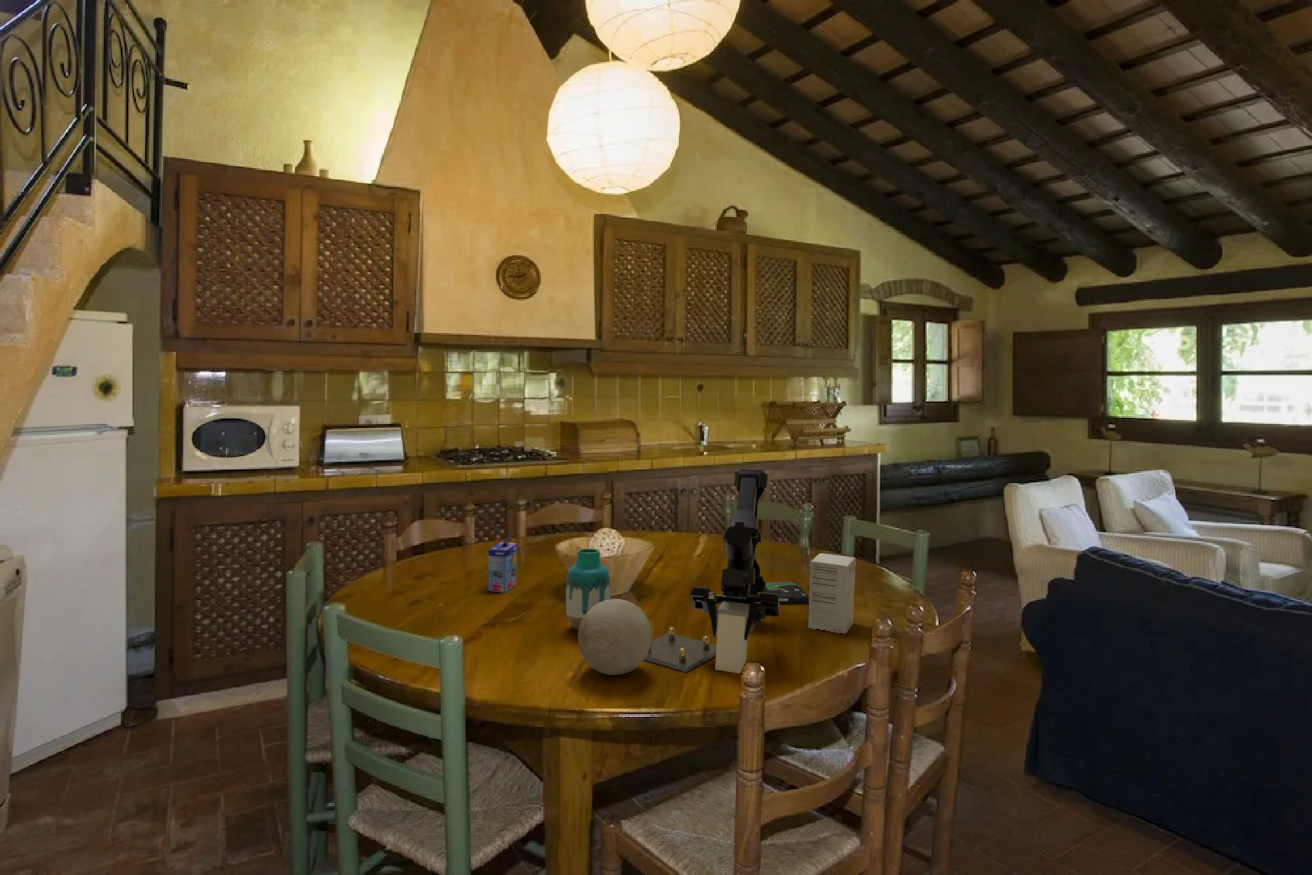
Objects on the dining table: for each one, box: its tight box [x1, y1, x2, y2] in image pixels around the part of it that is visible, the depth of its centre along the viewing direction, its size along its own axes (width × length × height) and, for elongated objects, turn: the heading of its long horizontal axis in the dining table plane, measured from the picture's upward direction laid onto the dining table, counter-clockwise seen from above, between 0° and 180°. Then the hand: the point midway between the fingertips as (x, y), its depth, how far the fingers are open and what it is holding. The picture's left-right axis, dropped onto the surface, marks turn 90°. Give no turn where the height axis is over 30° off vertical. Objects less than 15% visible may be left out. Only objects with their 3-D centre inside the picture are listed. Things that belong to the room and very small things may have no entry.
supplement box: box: [807, 553, 856, 634], centre depth 185 cm, size 10×9×17 cm
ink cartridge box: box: [487, 536, 518, 594], centre depth 214 cm, size 10×6×14 cm, turn 170°
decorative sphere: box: [577, 598, 652, 676], centre depth 154 cm, size 15×15×15 cm
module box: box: [714, 601, 749, 674], centre depth 158 cm, size 6×6×13 cm
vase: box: [565, 547, 611, 631], centre depth 180 cm, size 11×11×19 cm
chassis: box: [643, 626, 717, 673], centre depth 166 cm, size 15×15×4 cm
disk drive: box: [765, 581, 809, 605], centre depth 210 cm, size 10×3×15 cm
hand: (729, 637), depth 156 cm, fingers closed on module box, 6 cm apart
